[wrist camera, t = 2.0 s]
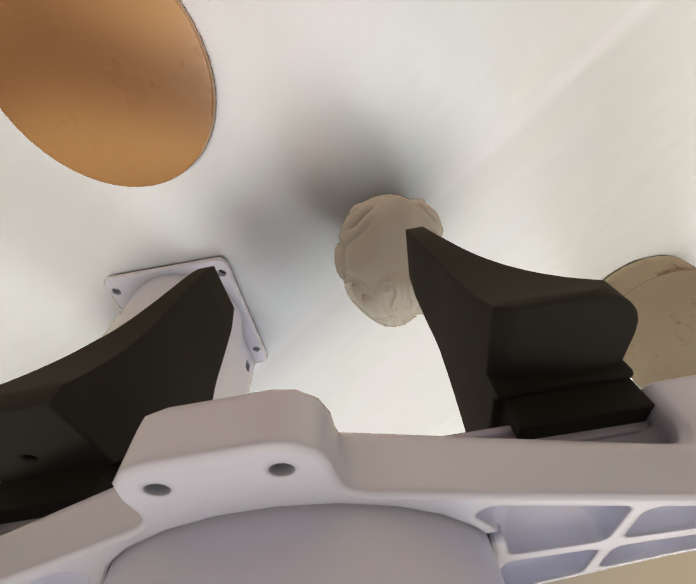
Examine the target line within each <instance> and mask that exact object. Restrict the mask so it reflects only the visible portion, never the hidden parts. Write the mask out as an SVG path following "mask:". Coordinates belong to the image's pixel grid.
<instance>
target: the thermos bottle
mask: <svg viewBox="0 0 696 584" xmlns="http://www.w3.org/2000/svg"><path fill="white" fill-rule="evenodd" d="M603 281H606V282H607V283H608V284H610V285H611V286H612V287H613V288H615V289H616V290H617V291H618V292H619V293H621V294H622V295H623V296H624V297H626V298H627V299H628V300H629V301H631V302H632V304H633V305H634V306H635V308H636V309H637V312H638V324H637V327H636V331H635V334H634V336H633V338H632V341H631V343H630V345H629V347H628V349H627V351H626V354H625V356H624V358H623V360H624V361H625V362H626V363H627V365H628V366H629V367H630V368H631V369H632V370H633V373H634V374H633V376H632V377H631V378H632V379H633V380H634V381H635V382H636V383H637V384H638V385H639V386H640V387H641V388H643V387H645V386H646V385H648V384H650V383H653V382H657V381H662V380H668V379H674V378H680V377H686V376H692V375H696V267H694V266H692V265H691V264H689V263H687V262H685V261H683V260H682V259H680V258H677V257H672V256H654V257H648V258H644V259H641V260H638V261H635V262H633V263H631V264H629V265H626V266H624V267H622V268H621V269H619V270H617V271H616V272H614V273H613V274H611V275H610V276H609V277H607V278H606V279H605V280H603Z"/></svg>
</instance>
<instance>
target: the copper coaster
mask: <svg viewBox="0 0 696 584" xmlns="http://www.w3.org/2000/svg"><path fill="white" fill-rule="evenodd" d="M0 108H1V110H2V111H3V112H4V114H5V115H6V116H7V117H8V118H9V119H10V121H11V122H12V123H13V124H14V125H15V126H16V127H17V128H18V129H19V130H20V131H21V132H22V133H23V134H24V135H25V136H26V137H27V138H28V139H29V140H30V141H31V142H33V143H34V144H35V145H36V146H37V147H39V148H40V149H41V150H42V151H44V152H45V153H46V154H48V155H49V156H51V157H52V158H54V159H55V160H56V161H58V162H60V163H61V164H63V165H65V166H66V167H68V168H70V169H72V170H74V171H76V172H78V173H80V174H82V175H85V176H87V177H90V178H92V179H95V180H98V181H101V182H105V183H109V184H113V185H120V186H127V187H143V186H152V185H156V184H160V183H164V182H166V181H169V180H171V179H173V178H175V177H177V176H179V175H180V174H182V173H183V172H185V171H186V170H187V169H188V168H189V167H190V166H191V165H192V164H193V163H195V161H196V160H197V159H198V158H199V156H200V155H201V154H202V152H203V151H204V149H205V147H206V145H207V144H208V141H209V138H210V136H211V133H212V130H213V125H214V120H215V112H216V92H215V84H214V78H213V72H212V68H211V65H210V61H209V57H208V54H207V52H206V49H205V47H204V44H203V42H202V39H201V37H200V35H199V33H198V31H197V29H196V27H195V25H194V23H193V21H192V19H191V18H190V16H189V15H188V13H187V12H186V10H185V8H184V7H183V5H182V4H181V2H180V1H179V0H0Z"/></svg>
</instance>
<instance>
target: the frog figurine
mask: <svg viewBox="0 0 696 584" xmlns="http://www.w3.org/2000/svg"><path fill="white" fill-rule="evenodd" d="M421 226H423V227H425V228H426V229H428V230H430V231H432V232H433V233H435V234H437V235H438V236H440V237H441V236H442V234H443V228H442V225H441V223H440V219H439V216H438V214H437V213H436V211H435V210H434V209H433V208H431V207H430V206H428V205H426V203H425V201H424V200H423V199H413V200H410V199H408V198H405V197H402V196H399V195H393V194H386V195H379V196H375V197H373V198H370V199H368V200H366V201H365V202H363V203H358V204H356V205H354V206H353V207H352V208H351V210H350V213H349V215H348V217H347V218H346V219H345V221H344V222H343V224H342V226H341V229H340V234H339V239H340V243H339V244H337V246H336V248H335V266H336V270H337V273H338V274H339V276H340V277H341V278H342V279H343V280H344V283H345V289H346V291H347V293H348V295H349V298H350V299H351V300H352V302H353V303H354V304H355V305H356V306H357V307H358V308H359V309H360V310H361V311H362V312H363V313H365V314H366V315H367V316H368V317H369V318H371V319H372V320H374V321H376V322H377V323H379V324H381V325H383V326H389V327H396V326H401V325H405V324H406V323H408V322H409V321H411V320H412V319H413V318H414V317H416V315H420V314H423V312H422V310H421V308H420V306H419V303H418V301H417V299H416V297H415V294H414V290H413V287H412V284H411V281H410V277H409V268H408V255H407V242H406V229H411V228H416V227H421Z"/></svg>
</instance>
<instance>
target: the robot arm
mask: <svg viewBox="0 0 696 584" xmlns="http://www.w3.org/2000/svg"><path fill="white" fill-rule="evenodd" d="M406 242H407V255H408V268H409V277H410V281H411V284H412V287H413V290H414V294H415V297H416V299H417V301H418V303H419V306H420V308H421V310H422V312H423V314H424V316H425V318H426V320H427V323H428V325H429V327H430V329H431V331H432V333H433V335H434V337H435V340H436V342H437V344H438V347H439V349H440V352H441V355H442V358H443V361H444V364H445V367H446V369H447V372H448V376H449V379H450V382H451V385H452V388H453V391H454V394H455V397H456V401H457V404H458V407H459V411H460V414H461V417H462V421H463V424H464V427H465V431H466V432H465V433H459V434H453V435H446V436H425V435H397V434H370V433H342V432H338V431H337V429H336V427H335V425H334V422H333V420H332V417H331V414H330V411H329V410H328V409H327V408H326V407H325V406H324V404H323V403H322V402H321V401H320V400H319V399H318V398H316V397H314V396H312V395H309V394H306V393H303V392H301V391H298V390H268V391H262V392H256V393H250V394H249V390H250V385H251V380H252V375H253V370H254V365H255V363H258V362H263V361H265V360H266V359H267V352H266V350H265V348H264V345H263V343H262V341H261V338H260V336H259V334H258V331H257V329H256V327H255V325H254V322H253V320H252V318H251V315H250V313H249V311H248V308H247V306H246V304H245V302H244V299H243V297H242V295H241V292H240V290H239V288H238V285H237V283H236V281H235V279H234V276H233V274H232V272H231V269H230V267H229V265H228V262H227V261H226V260H225V259H224V258H221V257H215V258H209V259H204V260H198V261H192V262H187V263H181V264H176V265H170V266H164V267H159V268H153V269H147V270H142V271H136V272H131V273H125V274H119V275H114V276H109V277H108V278H107V279H106V280H105V281H104V285H105V287H106V288H107V290H108V291H109V293H110V294H111V295H112V297H113V298H114V299H115V301H116V302H117V304H118V305H119V306H120V308H121V309H122V311H121V313H120V314H119V315H118V317H117V318H116V320H115V321H114V322H113V324H112V325H111V326H110V328H109V329H108V330H107V332H106V333H105V334H104V336H103V337H102V338H100V339H98V340H96V341H94V342H92V343H91V344H89V345H87V346H85V347H83V348H81V349H80V350H78V351H76V352H74V353H72V354H70V355H68V356H66V357H64V358H62V359H60V360H58V361H56V362H53V363H51V364H49V365H47V366H44V367H42V368H40V369H38V370H36V371H33V372H31V373H29V374H26V375H24V376H21V377H19V378H16V379H14V380H11V381H9V382H6V383H3V384H1V385H0V584H544V583H548V582H553V581H557V580H562V579H566V578H570V577H575V576H579V575H583V574H587V573H592V572H596V571H600V570H605V569H609V568H614V567H618V566H622V565H627V564H631V563H636V562H640V561H645V560H650V559H654V558H659V557H664V556H669V555H674V554H679V553H684V552H690V551H694V550H696V375H692V376H686V377H680V378H674V379H668V380H662V381H657V382H653V383H650V384H648V385H646V386H645V387H643V388H642V389H641V390H640V389H639V388H638V387H637V386H636V385H635V384H634V382H633V381H632V380H631V379H630V378H631V377H632V376H633V374H634V373H633V370H632V369H631V368H630V367H629V366H628V365H627V363H626V362H625V361H624V360H623V358H624V356H625V354H626V351H627V349H628V347H629V345H630V343H631V341H632V338H633V336H634V334H635V331H636V327H637V324H638V312H637V309H636V308H635V306H634V305H633V304H632V302H631V301H629V300H628V299H627V298H626V297H624V296H623V295H622V294H621V293H619V292H618V291H617V290H616V289H615V288H613V287H612V286H611V285H610V284H608V283H607V282H606V281H602V280H591V279H580V278H568V277H560V276H554V275H548V274H541V273H536V272H531V271H526V270H522V269H518V268H514V267H510V266H507V265H503V264H500V263H497V262H494V261H491V260H488V259H486V258H483V257H480V256H478V255H475V254H473V253H471V252H469V251H467V250H464V249H462V248H460V247H458V246H456V245H455V244H453V243H451V242H449V241H447V240H445V239H444V238H442V237H440V236H438V235H437V234H435V233H433V232H432V231H430V230H428V229H426V228H425V227H423V226H421V227H416V228H411V229H406ZM219 270H224V271H225V272H226V273H221V272H220V271H219ZM115 288H117V289H119V290H120V291H117V290H116V289H115ZM256 347H259V348H256Z"/></svg>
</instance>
